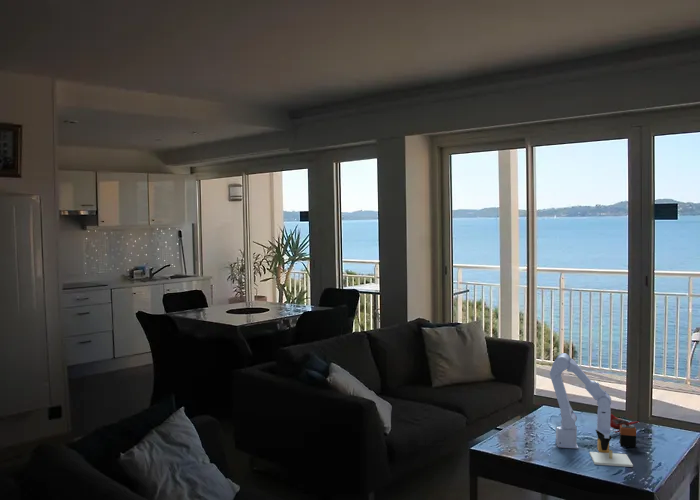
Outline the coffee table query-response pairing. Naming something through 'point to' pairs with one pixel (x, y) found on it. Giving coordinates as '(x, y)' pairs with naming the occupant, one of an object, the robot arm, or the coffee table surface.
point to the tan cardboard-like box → (600, 446)
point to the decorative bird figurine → (619, 423)
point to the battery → (628, 435)
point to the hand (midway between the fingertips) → (603, 447)
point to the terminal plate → (610, 459)
